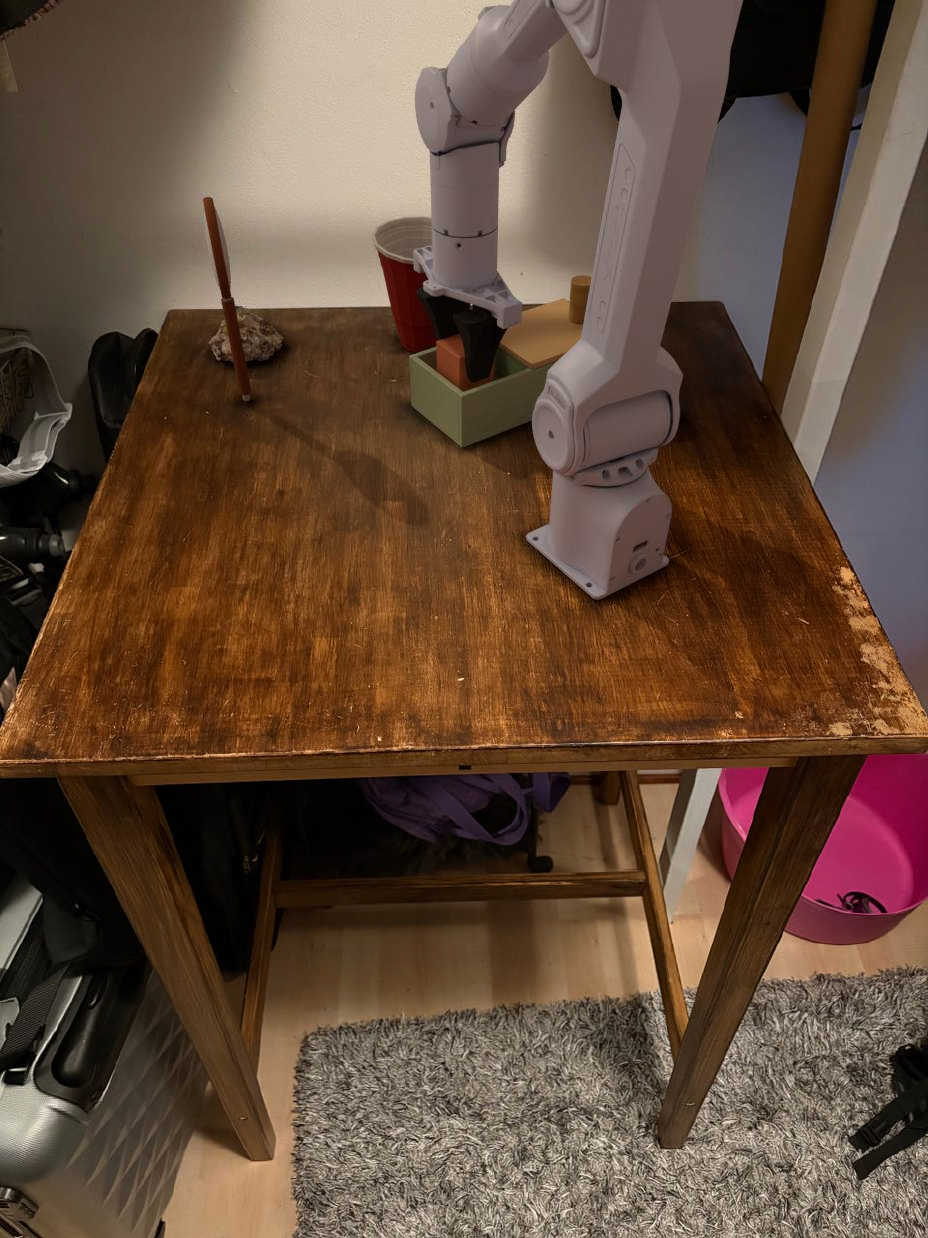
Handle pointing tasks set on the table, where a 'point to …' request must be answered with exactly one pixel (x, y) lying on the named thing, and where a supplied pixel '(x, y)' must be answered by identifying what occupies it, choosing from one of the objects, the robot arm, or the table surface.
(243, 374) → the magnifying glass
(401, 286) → the plastic cup
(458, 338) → the block
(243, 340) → the mineral rock
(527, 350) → the lid
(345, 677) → the table surface
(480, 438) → the box
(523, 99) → the robot arm
